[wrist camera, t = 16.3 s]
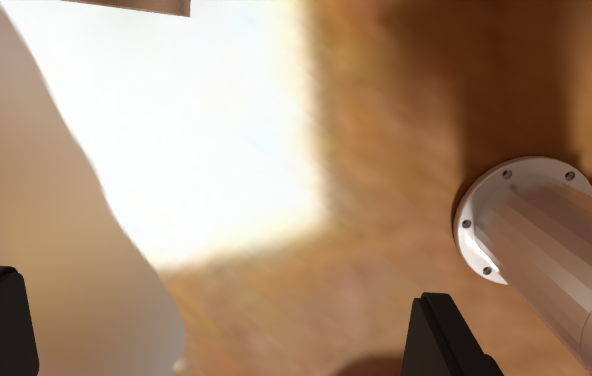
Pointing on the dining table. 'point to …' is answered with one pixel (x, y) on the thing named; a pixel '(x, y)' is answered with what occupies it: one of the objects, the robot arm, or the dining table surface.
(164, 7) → the walnut block
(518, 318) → the dining table surface
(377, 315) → the dining table surface
